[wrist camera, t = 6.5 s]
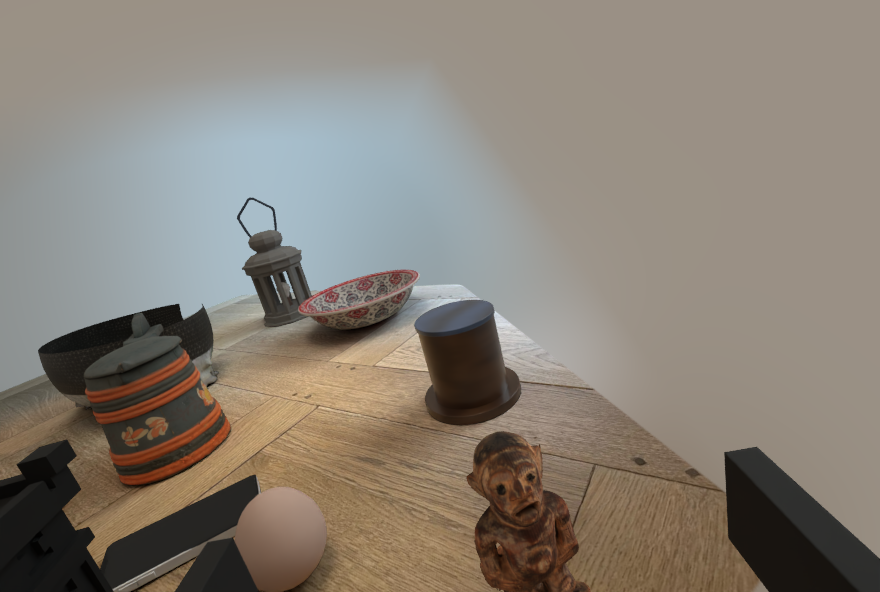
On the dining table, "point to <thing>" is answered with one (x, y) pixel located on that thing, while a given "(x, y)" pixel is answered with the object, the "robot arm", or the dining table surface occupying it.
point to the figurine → (521, 520)
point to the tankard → (153, 406)
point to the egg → (281, 538)
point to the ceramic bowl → (361, 300)
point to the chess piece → (44, 528)
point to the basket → (90, 344)
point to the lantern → (276, 275)
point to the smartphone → (176, 537)
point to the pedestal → (465, 363)
